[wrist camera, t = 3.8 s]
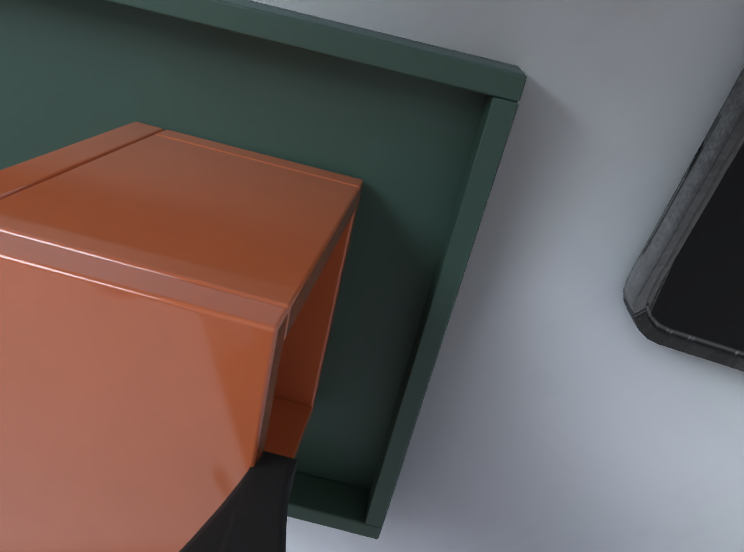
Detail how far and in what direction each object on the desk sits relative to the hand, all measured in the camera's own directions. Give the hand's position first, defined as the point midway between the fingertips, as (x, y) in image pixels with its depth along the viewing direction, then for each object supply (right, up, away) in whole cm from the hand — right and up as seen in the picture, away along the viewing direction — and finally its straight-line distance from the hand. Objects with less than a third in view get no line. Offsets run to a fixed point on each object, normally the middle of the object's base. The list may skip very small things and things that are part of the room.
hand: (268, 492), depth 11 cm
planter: (-2, +4, +7) cm, 8 cm away
